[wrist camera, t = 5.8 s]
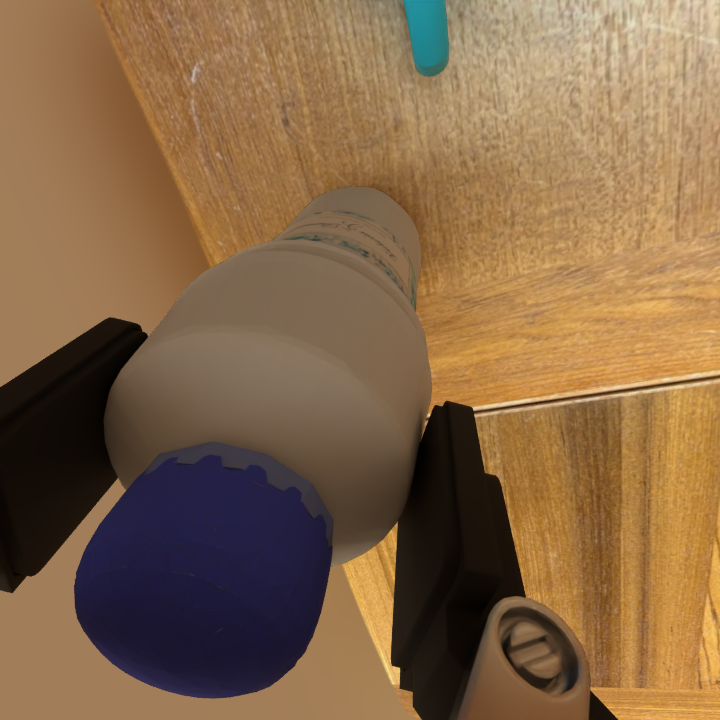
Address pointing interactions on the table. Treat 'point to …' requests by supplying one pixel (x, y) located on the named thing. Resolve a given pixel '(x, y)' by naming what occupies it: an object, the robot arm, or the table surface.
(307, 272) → the bottle
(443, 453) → the robot arm
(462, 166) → the table surface
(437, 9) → the mug
